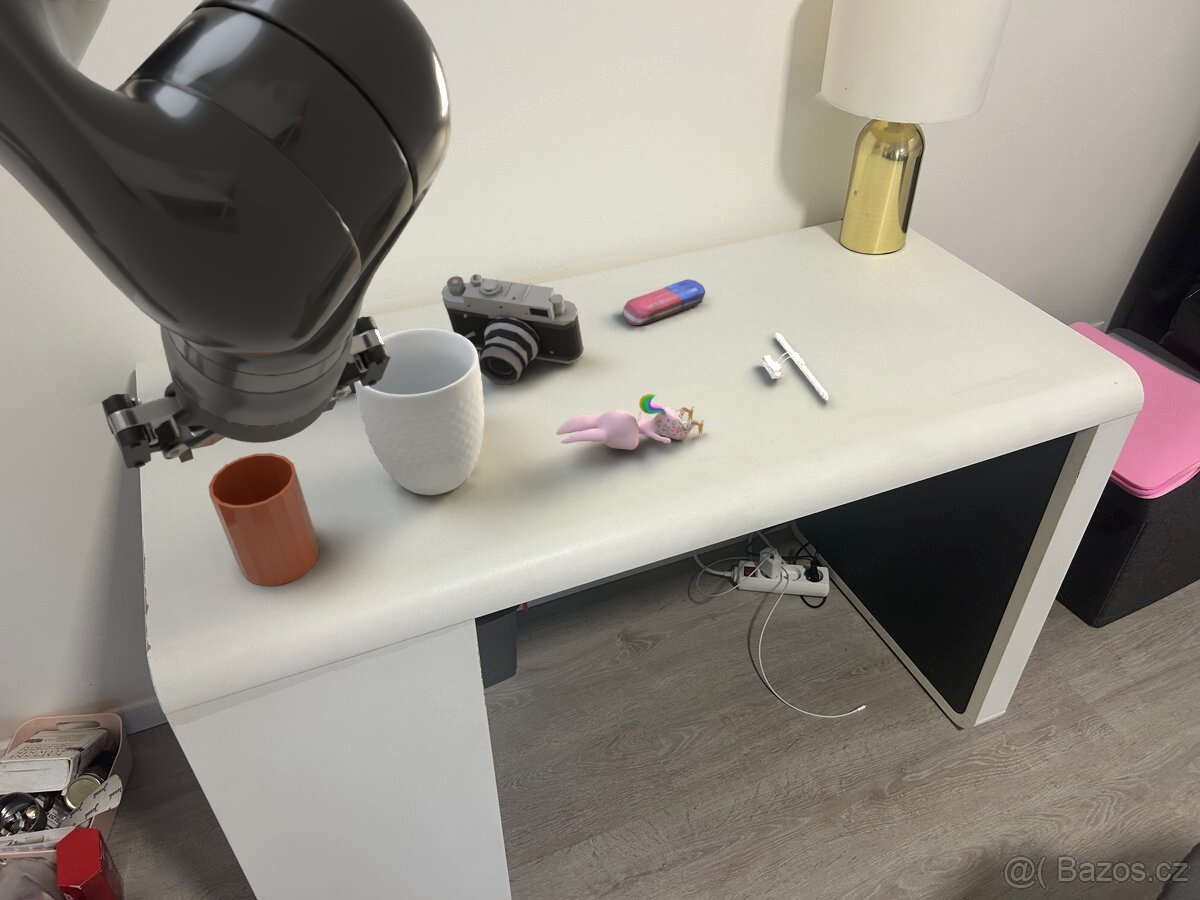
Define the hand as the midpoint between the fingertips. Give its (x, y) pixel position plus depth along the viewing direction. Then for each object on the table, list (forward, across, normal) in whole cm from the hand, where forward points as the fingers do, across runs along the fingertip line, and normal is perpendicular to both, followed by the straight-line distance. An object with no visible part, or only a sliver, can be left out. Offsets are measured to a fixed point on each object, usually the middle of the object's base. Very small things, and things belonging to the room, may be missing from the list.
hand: (252, 420), depth 52 cm
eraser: (+35, -53, -3) cm, 64 cm away
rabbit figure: (+21, -34, +11) cm, 41 cm away
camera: (+34, -31, -3) cm, 46 cm away
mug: (+26, -17, +5) cm, 32 cm away
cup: (+24, 0, +7) cm, 25 cm away
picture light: (+21, -56, +10) cm, 61 cm away
